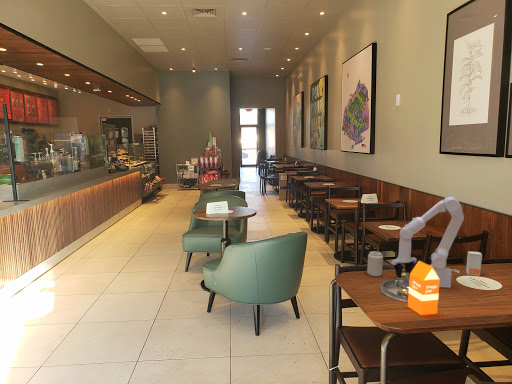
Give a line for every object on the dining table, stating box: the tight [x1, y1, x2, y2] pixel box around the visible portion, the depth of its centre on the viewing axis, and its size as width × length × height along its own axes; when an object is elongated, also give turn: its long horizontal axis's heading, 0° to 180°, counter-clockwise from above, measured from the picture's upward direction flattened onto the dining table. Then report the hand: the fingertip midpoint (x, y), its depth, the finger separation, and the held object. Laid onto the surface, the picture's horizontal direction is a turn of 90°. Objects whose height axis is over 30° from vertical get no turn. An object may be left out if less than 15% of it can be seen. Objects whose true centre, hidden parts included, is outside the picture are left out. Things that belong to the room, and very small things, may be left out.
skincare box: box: [465, 251, 483, 277], centre depth 202 cm, size 6×4×12 cm
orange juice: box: [407, 260, 440, 316], centre depth 157 cm, size 8×9×20 cm
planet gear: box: [395, 269, 410, 280], centre depth 192 cm, size 6×6×5 cm
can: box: [366, 250, 384, 277], centre depth 199 cm, size 8×8×12 cm
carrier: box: [380, 278, 410, 303], centre depth 176 cm, size 24×24×4 cm
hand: (403, 276), depth 192 cm, fingers closed on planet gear, 5 cm apart
